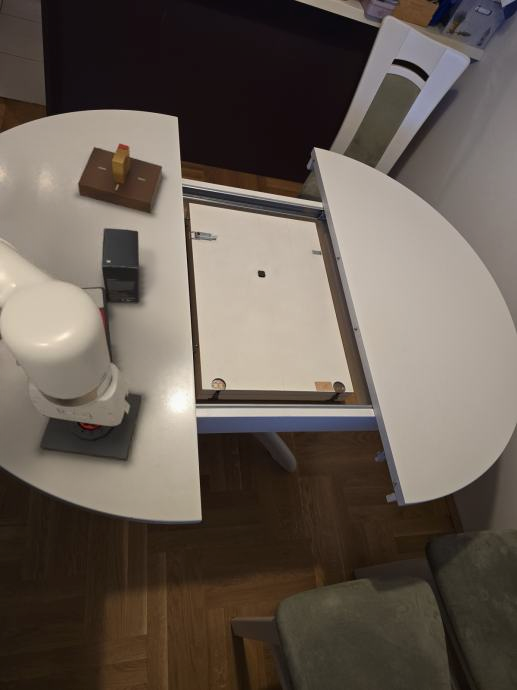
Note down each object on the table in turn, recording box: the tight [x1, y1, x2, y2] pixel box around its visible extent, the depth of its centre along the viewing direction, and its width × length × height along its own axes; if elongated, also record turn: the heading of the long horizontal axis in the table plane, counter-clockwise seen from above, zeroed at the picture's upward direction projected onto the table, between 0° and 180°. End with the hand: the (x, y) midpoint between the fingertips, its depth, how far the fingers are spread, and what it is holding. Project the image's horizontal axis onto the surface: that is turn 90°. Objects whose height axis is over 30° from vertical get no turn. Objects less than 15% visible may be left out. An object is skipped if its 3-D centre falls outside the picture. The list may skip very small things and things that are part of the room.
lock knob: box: [112, 143, 131, 184], centre depth 77 cm, size 5×2×5 cm, turn 174°
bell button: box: [80, 422, 102, 431], centre depth 58 cm, size 4×4×2 cm
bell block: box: [39, 392, 142, 462], centre depth 59 cm, size 12×10×4 cm
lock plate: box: [77, 146, 163, 214], centre depth 81 cm, size 14×11×3 cm
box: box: [101, 227, 140, 304], centre depth 67 cm, size 8×6×11 cm
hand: (92, 416), depth 57 cm, fingers closed
